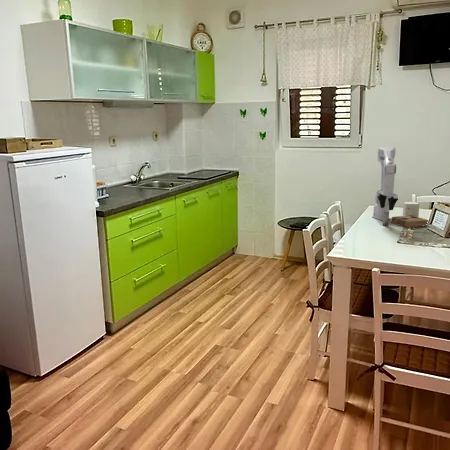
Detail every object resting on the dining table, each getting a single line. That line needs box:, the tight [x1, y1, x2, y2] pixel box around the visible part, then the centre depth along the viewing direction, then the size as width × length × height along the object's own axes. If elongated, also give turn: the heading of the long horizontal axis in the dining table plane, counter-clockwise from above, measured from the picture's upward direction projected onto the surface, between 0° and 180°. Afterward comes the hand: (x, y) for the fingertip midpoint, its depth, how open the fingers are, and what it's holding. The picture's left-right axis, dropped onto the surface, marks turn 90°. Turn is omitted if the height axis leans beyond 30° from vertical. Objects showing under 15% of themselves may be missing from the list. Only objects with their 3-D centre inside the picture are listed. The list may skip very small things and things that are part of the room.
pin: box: [382, 211, 390, 227], centre depth 252 cm, size 3×3×8 cm
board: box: [390, 215, 429, 229], centre depth 255 cm, size 14×14×4 cm
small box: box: [402, 201, 420, 217], centre depth 266 cm, size 8×6×10 cm
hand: (386, 208), depth 251 cm, fingers open, 7 cm apart
